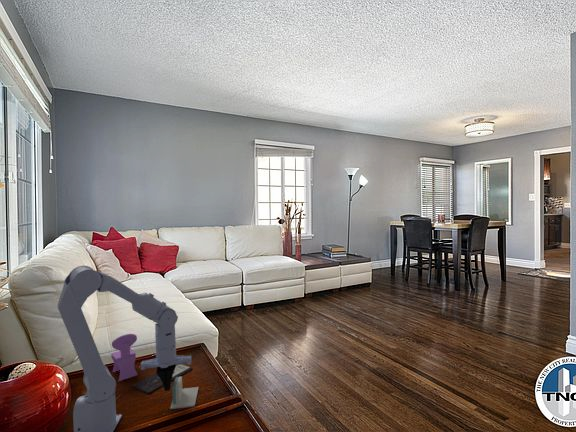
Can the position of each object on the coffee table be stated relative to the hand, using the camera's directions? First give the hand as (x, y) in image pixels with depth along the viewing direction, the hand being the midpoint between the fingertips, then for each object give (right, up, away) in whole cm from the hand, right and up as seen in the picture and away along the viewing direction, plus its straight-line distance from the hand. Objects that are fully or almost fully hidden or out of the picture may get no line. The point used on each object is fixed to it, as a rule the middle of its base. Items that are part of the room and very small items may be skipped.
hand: (167, 389), depth 99 cm
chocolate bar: (-7, -4, +14) cm, 16 cm away
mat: (+5, -3, +1) cm, 6 cm away
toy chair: (-22, -4, +17) cm, 28 cm away
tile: (+3, -3, +1) cm, 4 cm away
